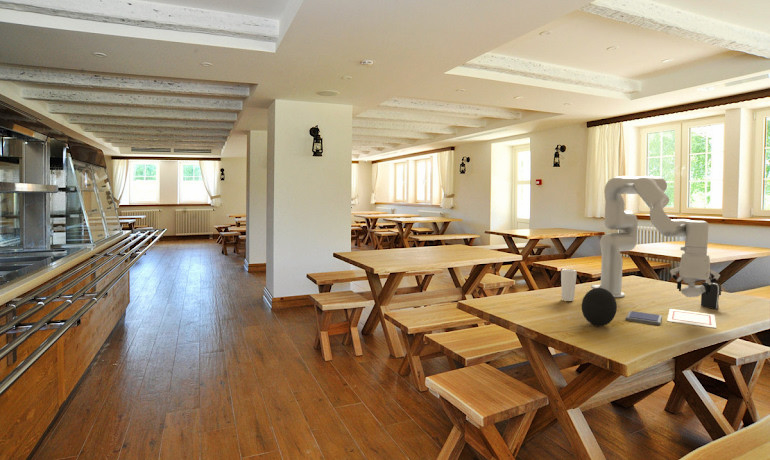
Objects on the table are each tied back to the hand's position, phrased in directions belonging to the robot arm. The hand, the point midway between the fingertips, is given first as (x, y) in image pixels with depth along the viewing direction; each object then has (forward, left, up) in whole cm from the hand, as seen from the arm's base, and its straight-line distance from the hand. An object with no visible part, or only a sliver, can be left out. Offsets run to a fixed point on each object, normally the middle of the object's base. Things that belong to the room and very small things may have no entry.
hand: (693, 292), depth 183 cm
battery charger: (+7, +26, -11) cm, 29 cm away
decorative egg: (-30, -33, -11) cm, 46 cm away
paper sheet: (0, 0, -11) cm, 11 cm away
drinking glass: (-49, +1, -11) cm, 50 cm away
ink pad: (-16, -13, -11) cm, 23 cm away
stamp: (+1, +1, -2) cm, 2 cm away
